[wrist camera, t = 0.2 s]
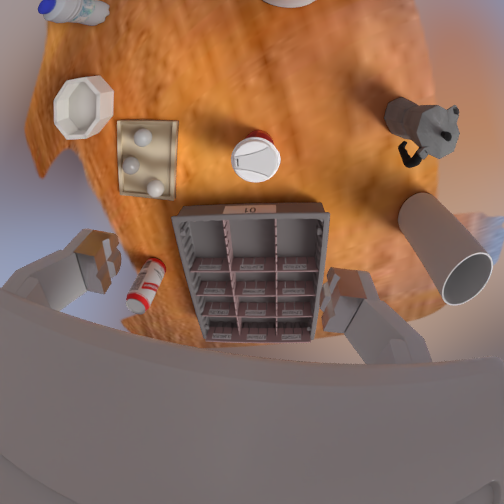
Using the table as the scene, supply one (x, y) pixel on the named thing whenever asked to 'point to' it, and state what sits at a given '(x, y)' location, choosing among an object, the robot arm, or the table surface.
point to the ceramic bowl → (83, 107)
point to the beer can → (145, 286)
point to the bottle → (74, 11)
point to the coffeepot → (423, 128)
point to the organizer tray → (254, 269)
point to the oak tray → (148, 157)
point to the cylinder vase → (445, 248)
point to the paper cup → (255, 157)
